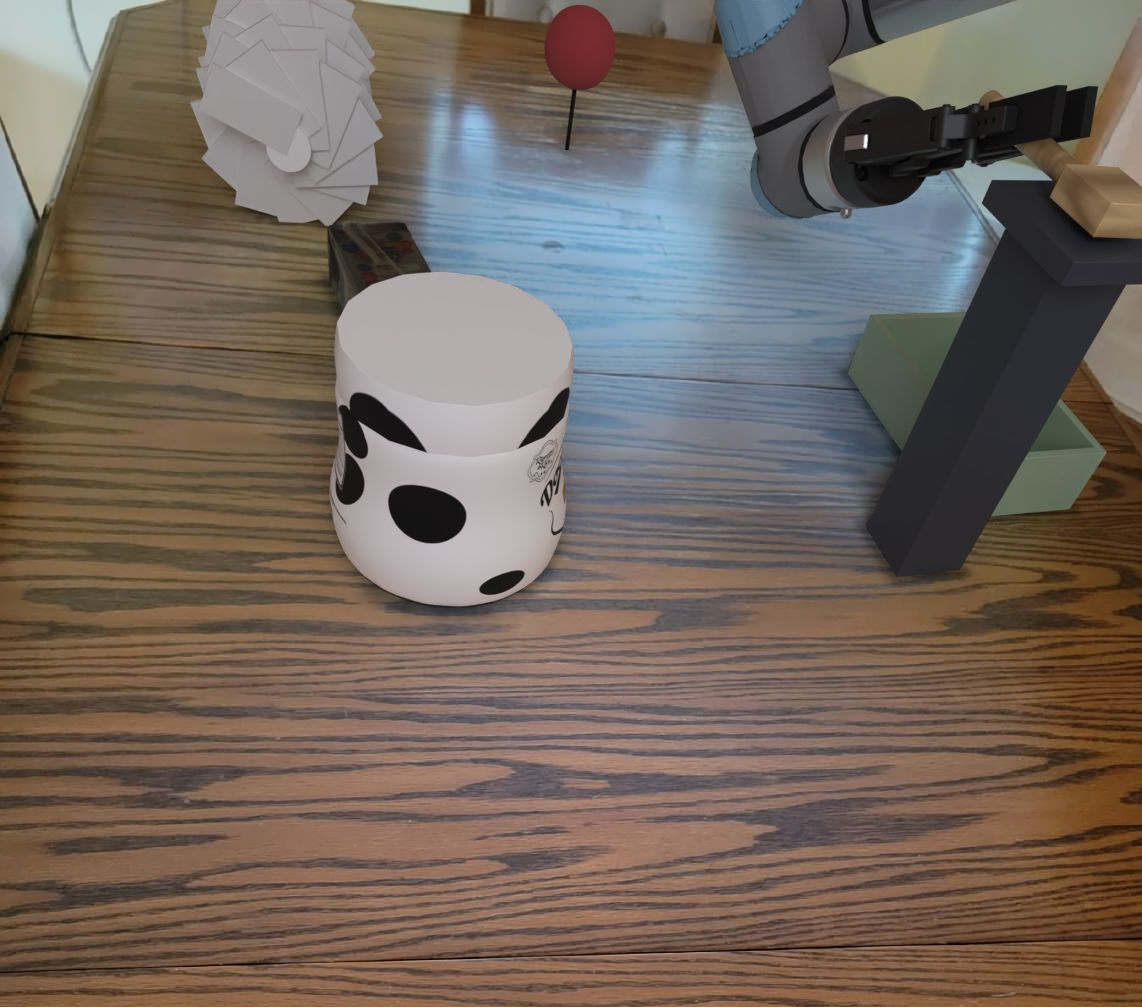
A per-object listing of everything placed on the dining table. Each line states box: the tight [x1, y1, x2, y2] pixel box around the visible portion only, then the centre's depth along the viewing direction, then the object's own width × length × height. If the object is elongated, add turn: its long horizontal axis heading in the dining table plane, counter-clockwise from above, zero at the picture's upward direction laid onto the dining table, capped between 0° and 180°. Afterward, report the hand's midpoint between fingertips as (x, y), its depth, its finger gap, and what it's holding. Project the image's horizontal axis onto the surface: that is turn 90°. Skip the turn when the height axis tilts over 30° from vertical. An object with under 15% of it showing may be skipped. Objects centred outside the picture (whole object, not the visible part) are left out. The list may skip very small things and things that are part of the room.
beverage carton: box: [326, 220, 432, 312], centre depth 93 cm, size 8×19×7 cm, turn 21°
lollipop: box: [543, 4, 616, 151], centre depth 116 cm, size 8×8×15 cm
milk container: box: [328, 271, 575, 609], centre depth 73 cm, size 17×17×18 cm
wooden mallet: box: [978, 89, 1142, 239], centre depth 66 cm, size 17×4×2 cm, turn 15°
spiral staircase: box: [189, 0, 384, 227], centre depth 103 cm, size 18×18×25 cm
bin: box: [847, 311, 1107, 517], centre depth 94 cm, size 22×13×7 cm, turn 15°
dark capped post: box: [865, 179, 1142, 578], centre depth 75 cm, size 10×8×28 cm
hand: (1073, 111), depth 64 cm, fingers closed on wooden mallet, 2 cm apart
